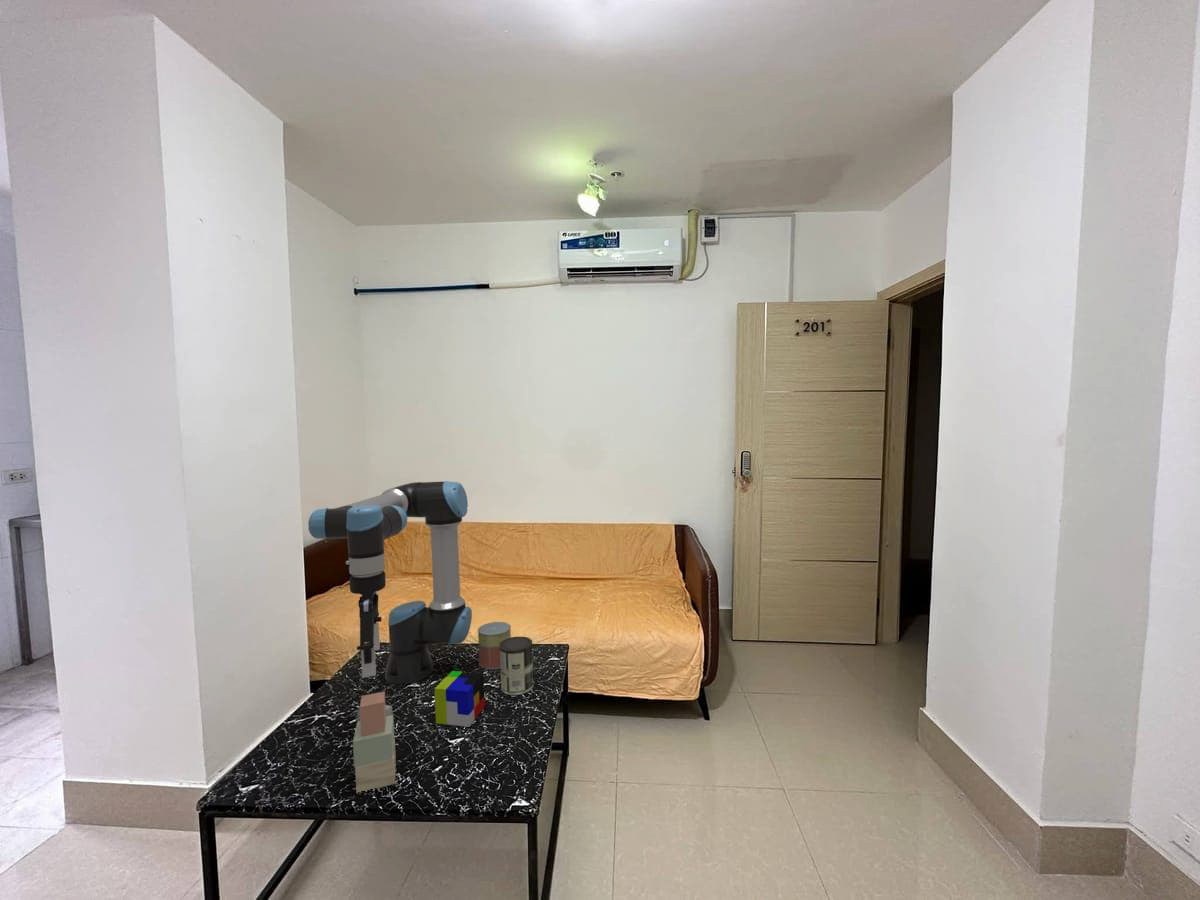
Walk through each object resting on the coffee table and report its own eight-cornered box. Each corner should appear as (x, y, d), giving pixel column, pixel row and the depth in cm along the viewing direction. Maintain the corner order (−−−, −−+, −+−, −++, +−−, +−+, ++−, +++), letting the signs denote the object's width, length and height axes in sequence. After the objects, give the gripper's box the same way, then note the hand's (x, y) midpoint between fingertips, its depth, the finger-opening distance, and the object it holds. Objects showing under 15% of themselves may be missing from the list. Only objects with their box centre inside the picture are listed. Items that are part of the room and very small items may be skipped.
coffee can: (524, 675, 163) (523, 633, 162) (539, 688, 154) (537, 644, 154) (495, 684, 157) (494, 641, 157) (508, 699, 149) (507, 653, 148)
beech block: (359, 771, 118) (358, 746, 118) (395, 762, 121) (394, 738, 121) (356, 793, 111) (355, 767, 111) (394, 783, 114) (393, 758, 114)
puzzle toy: (469, 727, 135) (467, 691, 135) (435, 723, 137) (434, 688, 137) (484, 706, 145) (483, 673, 144) (453, 703, 147) (452, 671, 147)
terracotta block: (363, 724, 117) (361, 695, 117) (386, 719, 119) (384, 691, 118) (361, 736, 112) (359, 706, 112) (384, 731, 114) (383, 702, 114)
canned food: (507, 651, 181) (506, 619, 180) (515, 664, 170) (514, 630, 170) (476, 658, 176) (474, 625, 175) (482, 672, 166) (481, 637, 165)
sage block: (358, 746, 118) (357, 722, 118) (394, 738, 121) (393, 714, 121) (354, 767, 111) (353, 741, 111) (392, 758, 114) (391, 733, 113)
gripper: (355, 561, 124) (359, 643, 125) (341, 591, 101) (346, 692, 102) (387, 557, 127) (391, 638, 128) (381, 586, 104) (386, 684, 105)
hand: (371, 662), depth 115 cm, fingers open, 13 cm apart
